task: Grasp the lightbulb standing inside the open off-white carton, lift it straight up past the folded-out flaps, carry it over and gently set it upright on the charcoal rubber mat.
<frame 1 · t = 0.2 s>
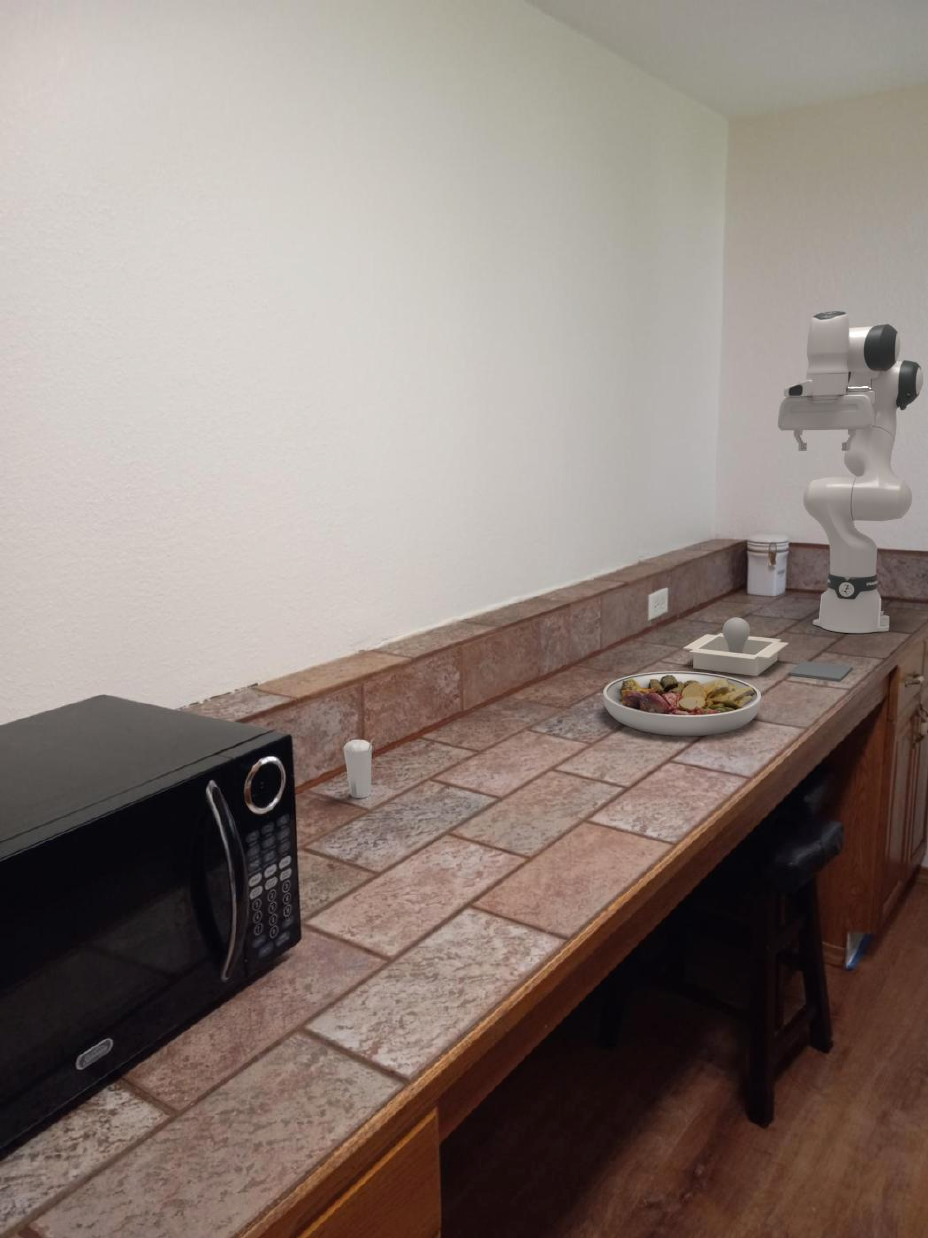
hand: (824, 450, 222), 47 cm above the worktop, tool pointing down, fingers open, 8 cm apart
mat: (820, 672, 219), on the worktop
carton: (735, 664, 228), on the worktop
milkshake: (362, 796, 160), on the worktop
lightbulb: (735, 665, 228), resting in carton
bowl: (680, 717, 194), on the worktop
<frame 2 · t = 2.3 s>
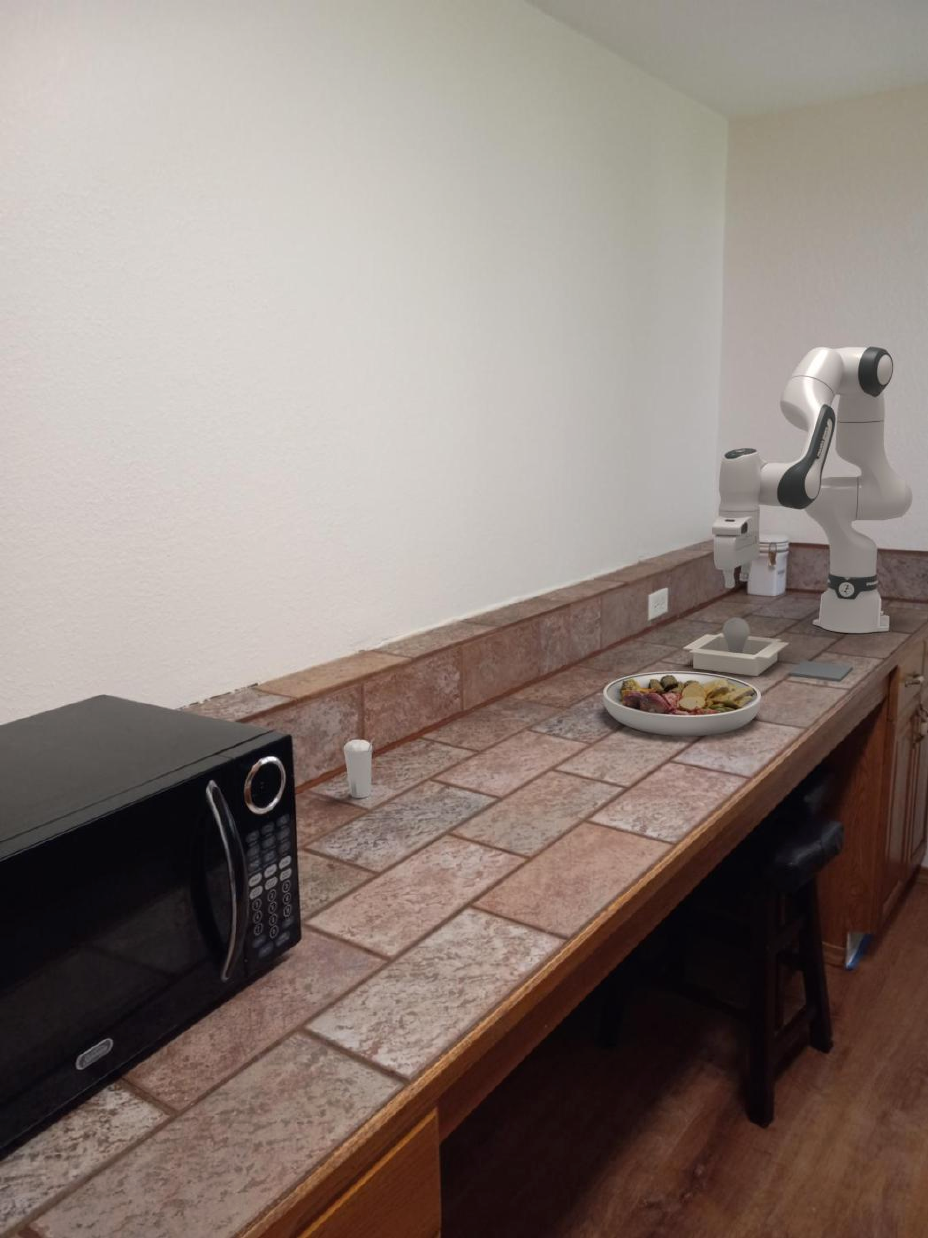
hand: (737, 584, 223), 19 cm above the worktop, tool pointing down, fingers open, 8 cm apart
nothing on the worktop moved.
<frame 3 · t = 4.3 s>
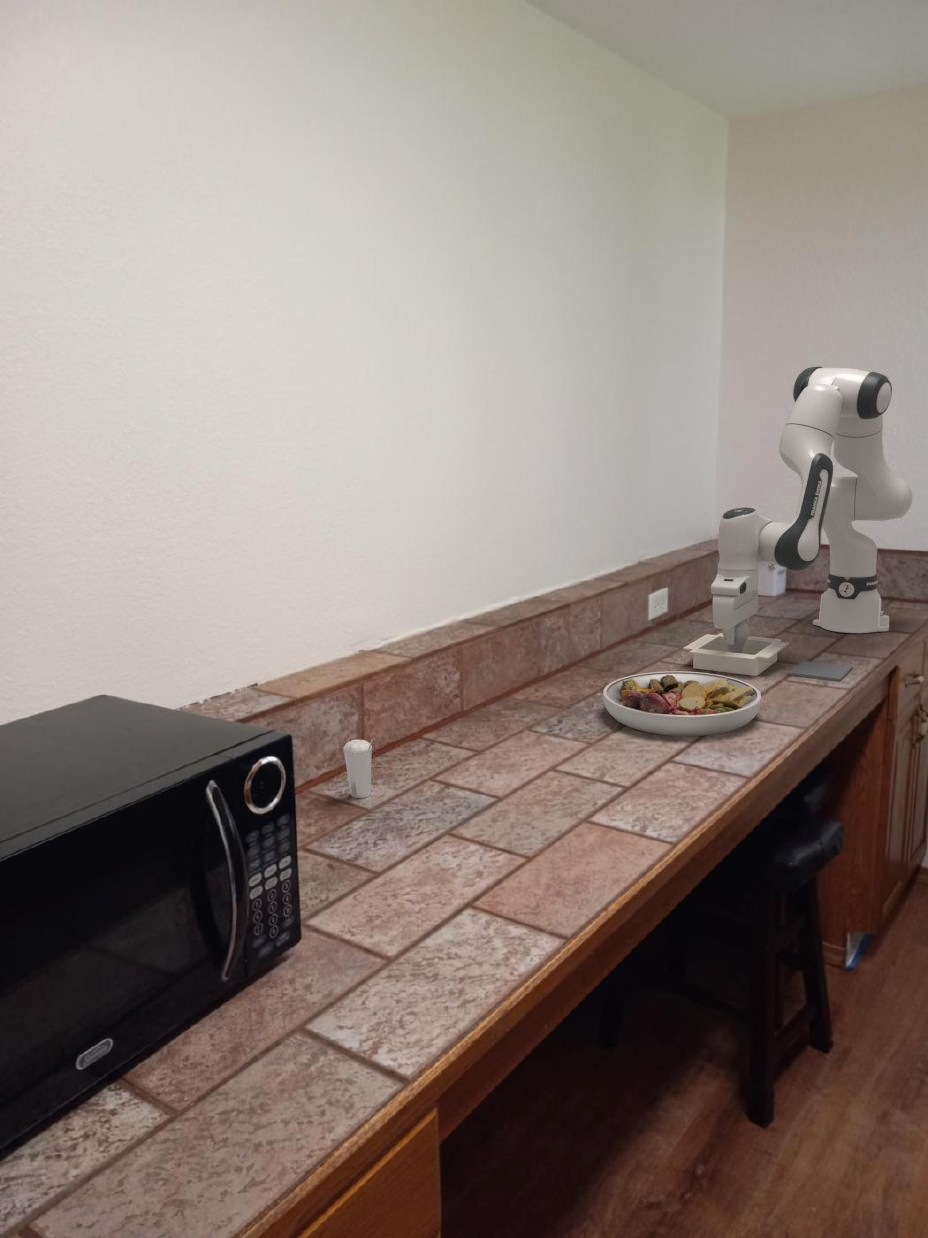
hand: (736, 640, 226), 6 cm above the worktop, tool pointing down, fingers closed on lightbulb, 6 cm apart
lightbulb: (735, 665, 228), resting in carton, touching gripper
everything else where it was.
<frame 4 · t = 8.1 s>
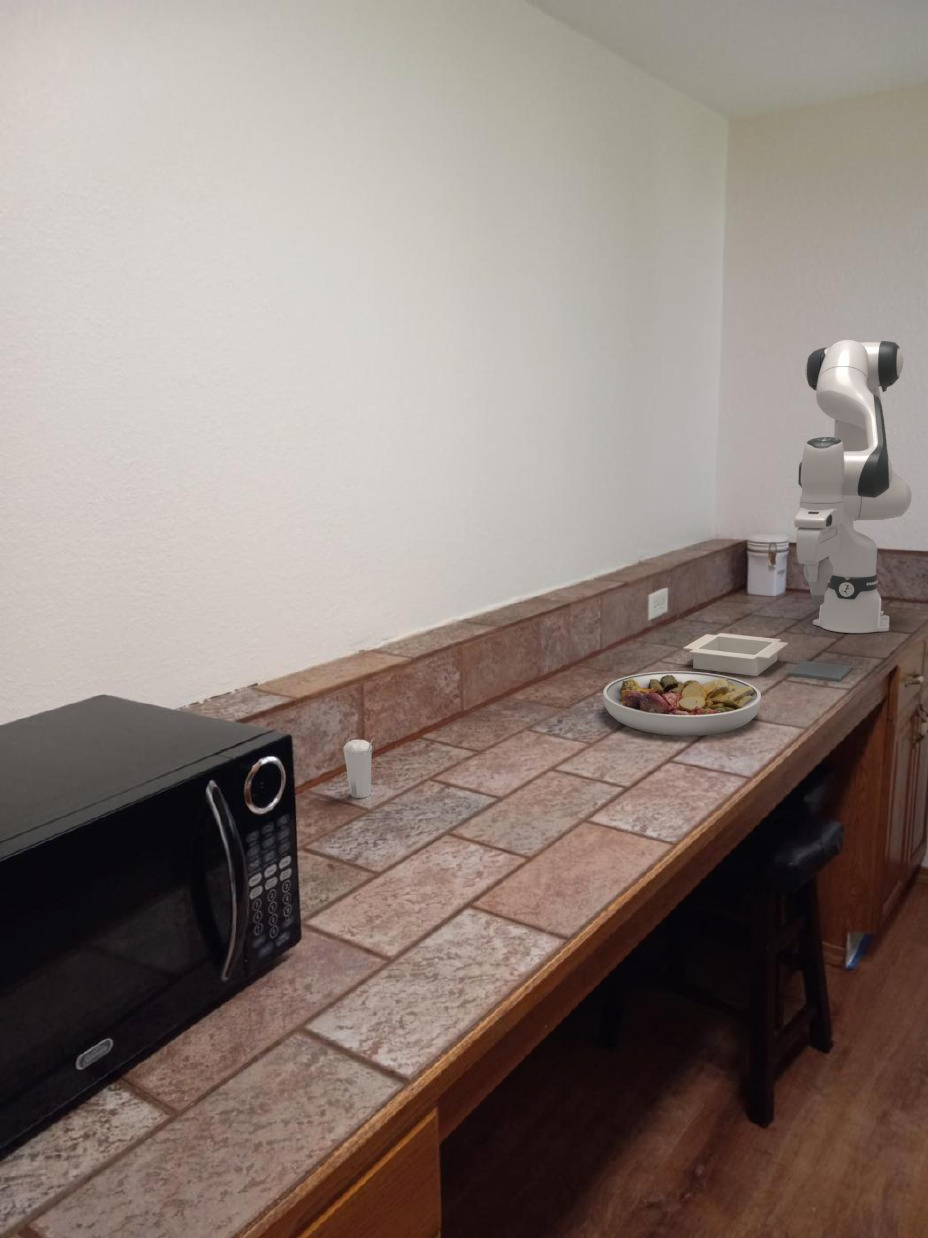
hand: (818, 578, 215), 21 cm above the worktop, tool pointing down, fingers closed on lightbulb, 6 cm apart
lightbulb: (817, 606, 216), point 15 cm above the worktop, touching gripper
everything else where it was.
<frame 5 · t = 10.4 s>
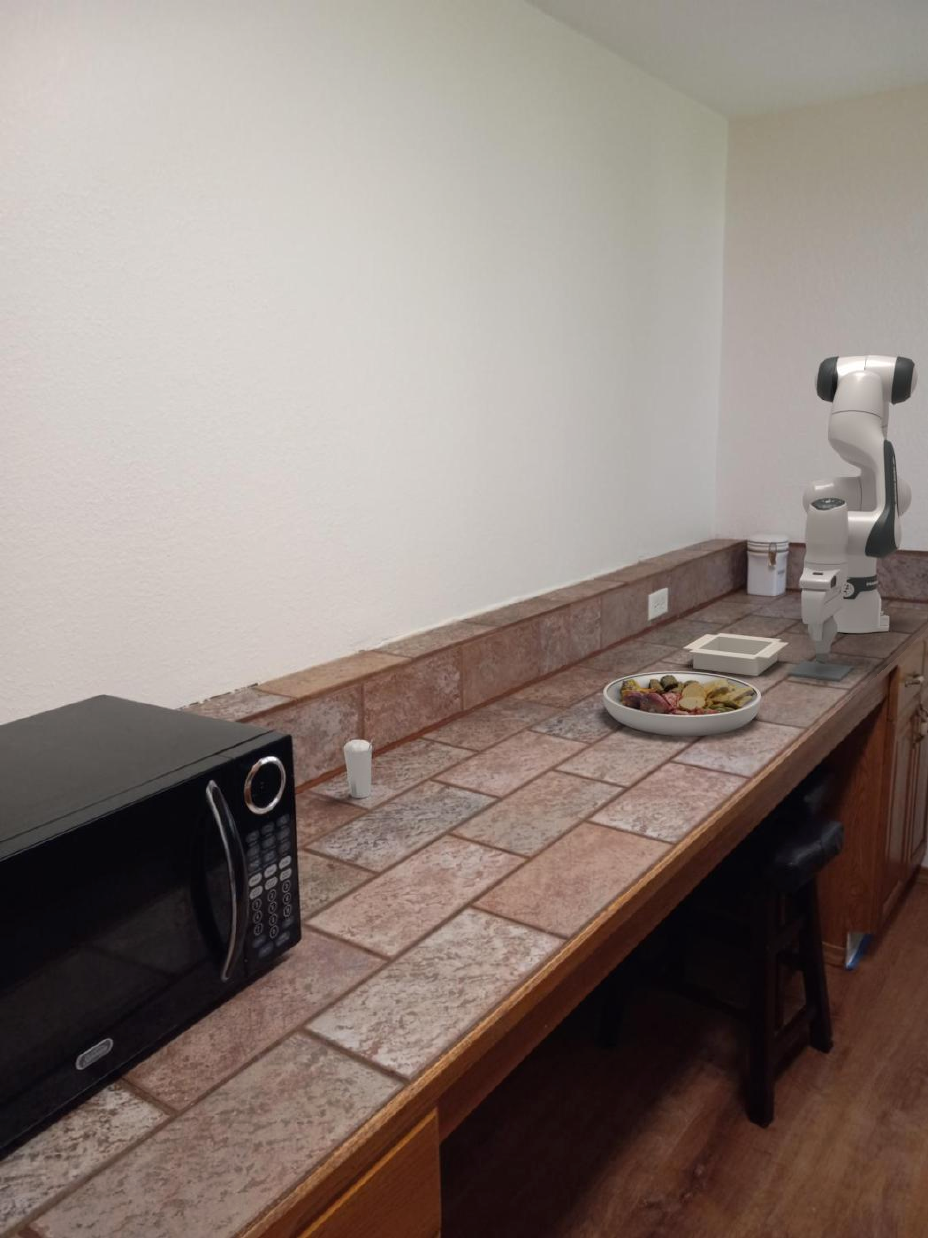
hand: (822, 636, 217), 8 cm above the worktop, tool pointing down, fingers closed on lightbulb, 6 cm apart
lightbulb: (822, 664, 218), point 2 cm above the worktop, touching gripper
everything else where it was.
when the fingers open (6 cm above the worktop, at t = 12.1 s): lightbulb stays where it is, resting on mat.
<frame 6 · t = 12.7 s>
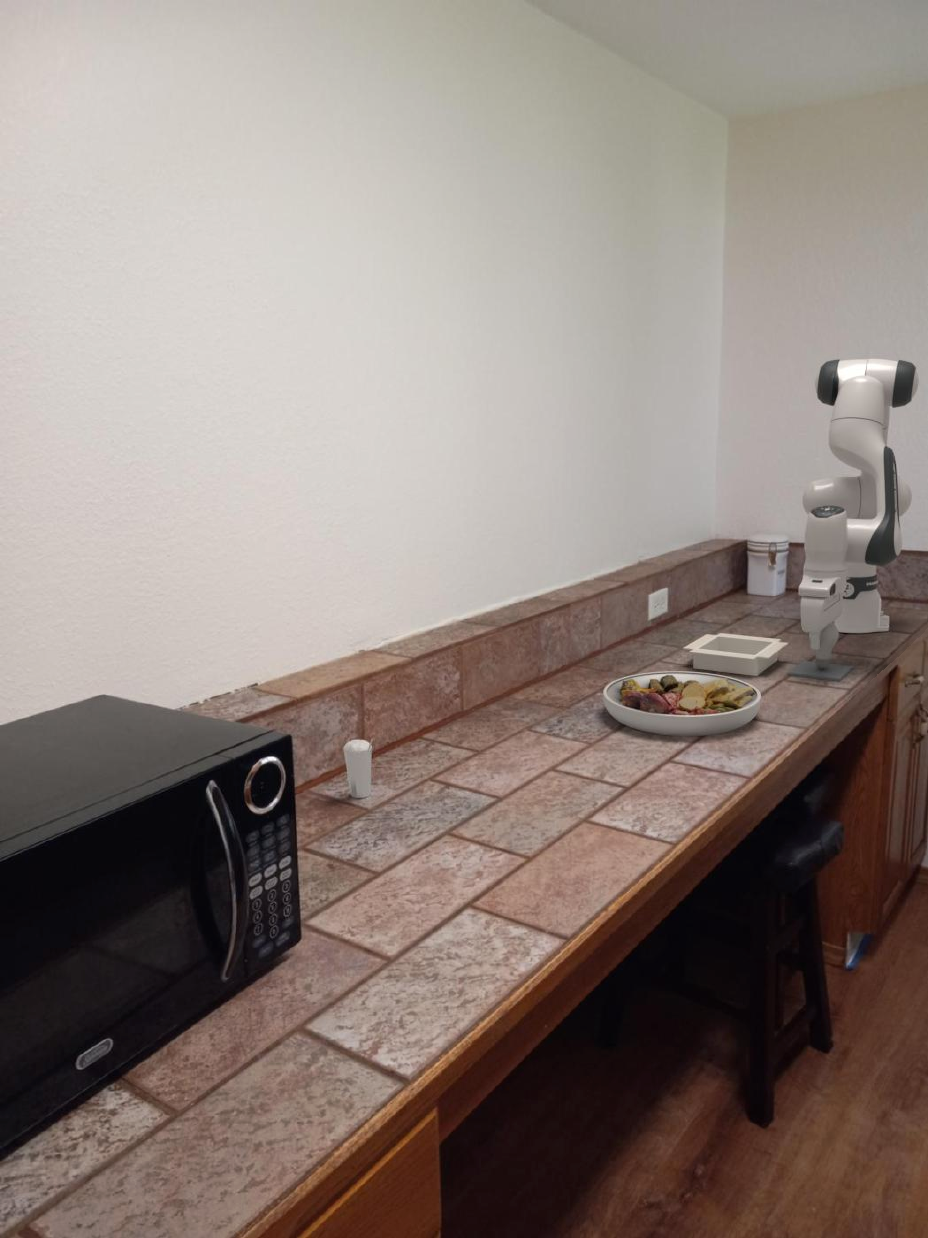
hand: (821, 643, 218), 6 cm above the worktop, tool pointing down, fingers open, 8 cm apart
lightbulb: (821, 670, 219), resting on mat
everything else where it was.
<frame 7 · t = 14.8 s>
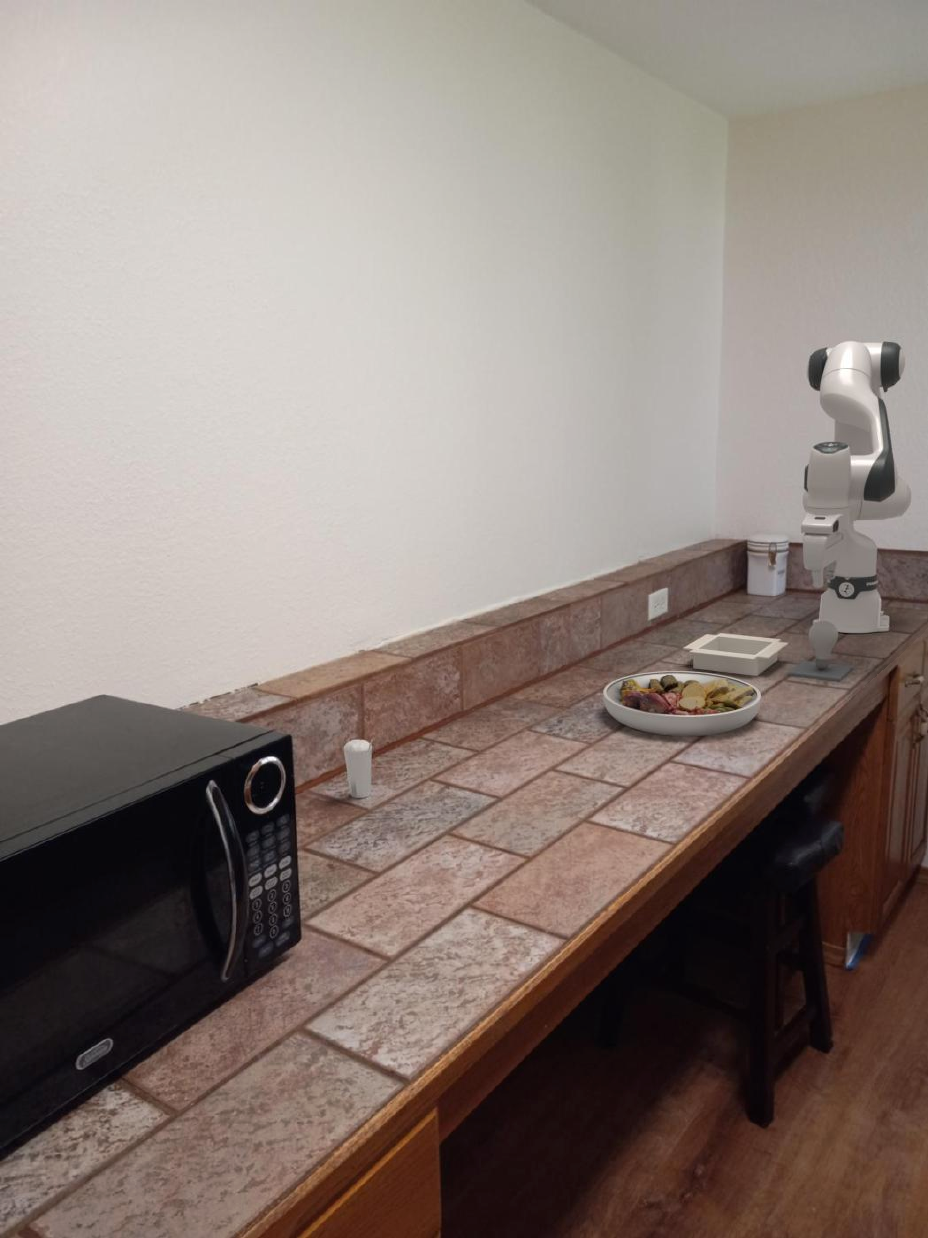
hand: (824, 583, 215), 20 cm above the worktop, tool pointing down, fingers open, 8 cm apart
nothing on the worktop moved.
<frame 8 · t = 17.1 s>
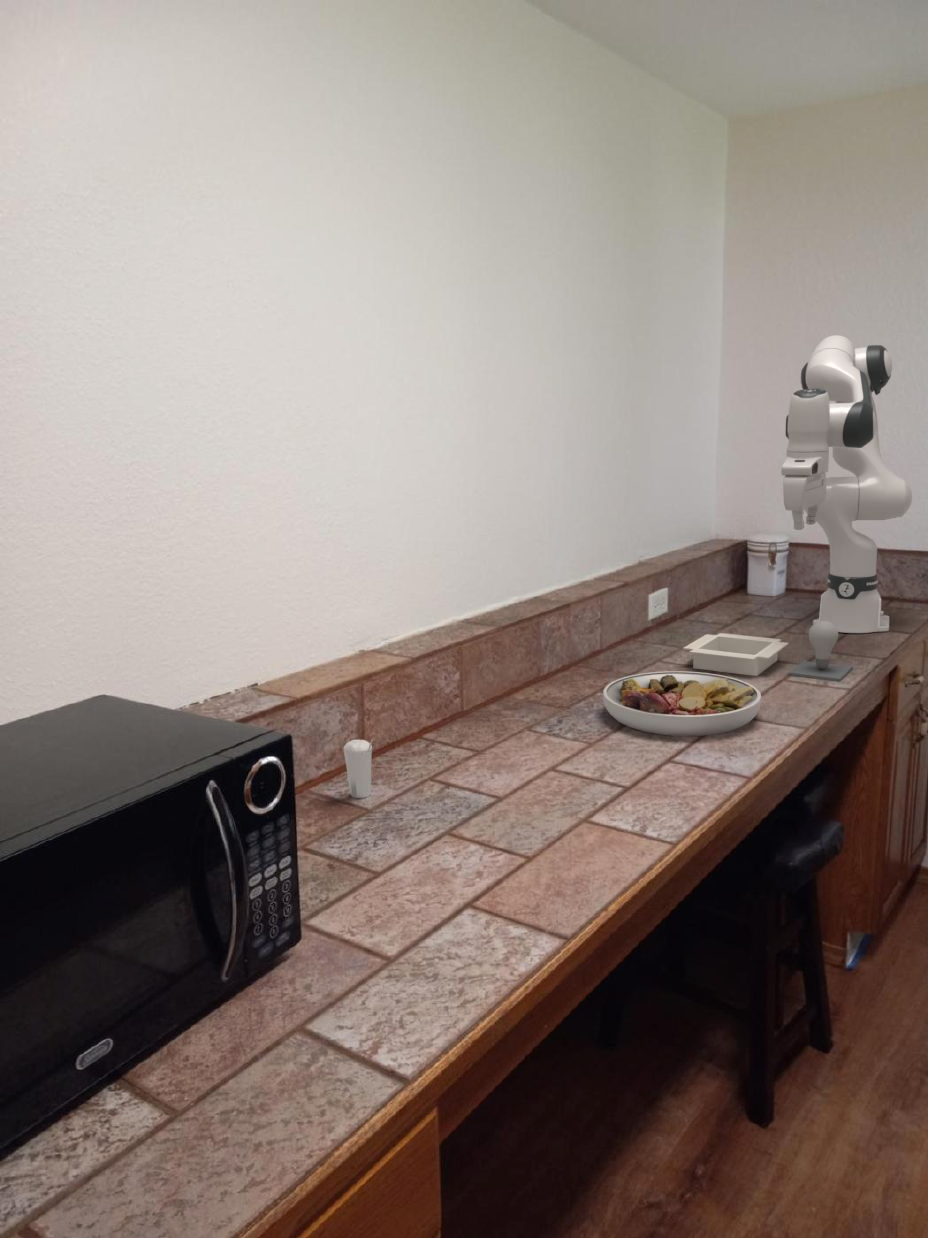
hand: (804, 526, 221), 31 cm above the worktop, tool pointing down, fingers open, 8 cm apart
nothing on the worktop moved.
at the end: lightbulb inside the target area on the mat (0.3 cm from its centre), point 0.4 cm above the mat's base; lightbulb tilted 0°; the gripper is holding nothing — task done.
